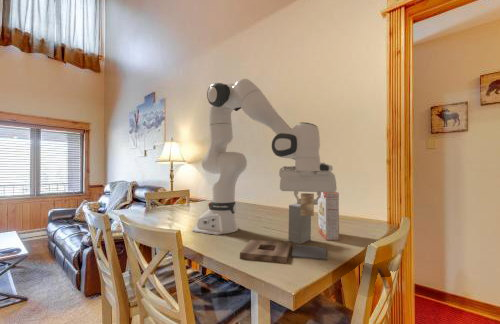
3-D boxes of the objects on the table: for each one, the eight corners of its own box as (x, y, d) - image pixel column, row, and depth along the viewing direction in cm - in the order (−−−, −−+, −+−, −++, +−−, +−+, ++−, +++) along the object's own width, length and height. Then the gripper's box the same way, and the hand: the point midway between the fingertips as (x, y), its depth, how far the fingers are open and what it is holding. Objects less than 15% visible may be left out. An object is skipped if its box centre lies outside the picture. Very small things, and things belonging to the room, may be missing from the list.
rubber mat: (291, 256, 87) (291, 255, 87) (293, 246, 99) (293, 244, 99) (327, 260, 84) (327, 258, 84) (325, 248, 96) (325, 247, 96)
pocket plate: (239, 258, 85) (239, 252, 85) (251, 244, 101) (251, 239, 101) (286, 263, 81) (286, 256, 81) (290, 247, 97) (290, 242, 97)
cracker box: (317, 232, 121) (317, 189, 121) (330, 232, 120) (329, 189, 121) (325, 240, 107) (325, 191, 107) (339, 240, 106) (339, 191, 107)
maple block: (300, 215, 89) (300, 194, 89) (301, 213, 94) (301, 193, 94) (313, 215, 88) (313, 194, 88) (313, 213, 92) (313, 193, 93)
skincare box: (298, 237, 111) (298, 202, 112) (312, 240, 106) (312, 203, 107) (287, 241, 105) (287, 203, 106) (301, 245, 100) (301, 205, 101)
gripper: (278, 166, 91) (277, 204, 91) (336, 166, 86) (337, 206, 85) (280, 166, 97) (280, 201, 97) (335, 166, 92) (335, 204, 91)
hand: (307, 204), depth 91 cm, fingers closed on maple block, 4 cm apart
